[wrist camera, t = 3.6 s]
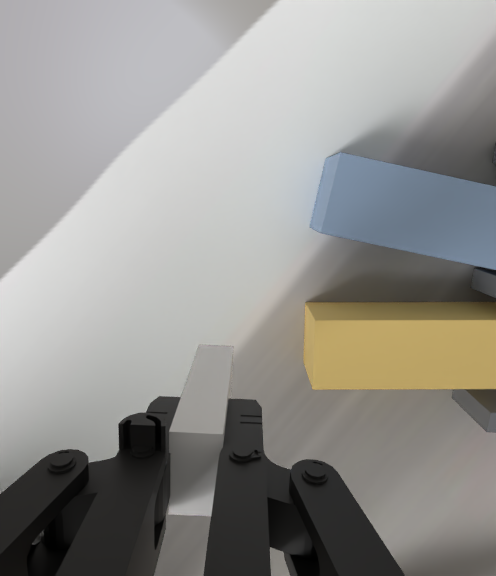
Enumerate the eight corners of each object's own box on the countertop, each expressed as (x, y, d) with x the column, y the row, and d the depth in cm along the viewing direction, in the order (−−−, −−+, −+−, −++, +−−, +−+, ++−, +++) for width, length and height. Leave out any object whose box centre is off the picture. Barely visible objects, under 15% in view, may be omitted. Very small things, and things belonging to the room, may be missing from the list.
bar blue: (308, 226, 25) (320, 233, 21) (325, 158, 24) (340, 152, 20) (497, 266, 25) (543, 279, 21) (520, 201, 24) (572, 203, 20)
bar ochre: (302, 360, 27) (312, 389, 23) (304, 301, 26) (315, 320, 22) (487, 360, 27) (528, 389, 23) (495, 301, 26) (540, 319, 22)
